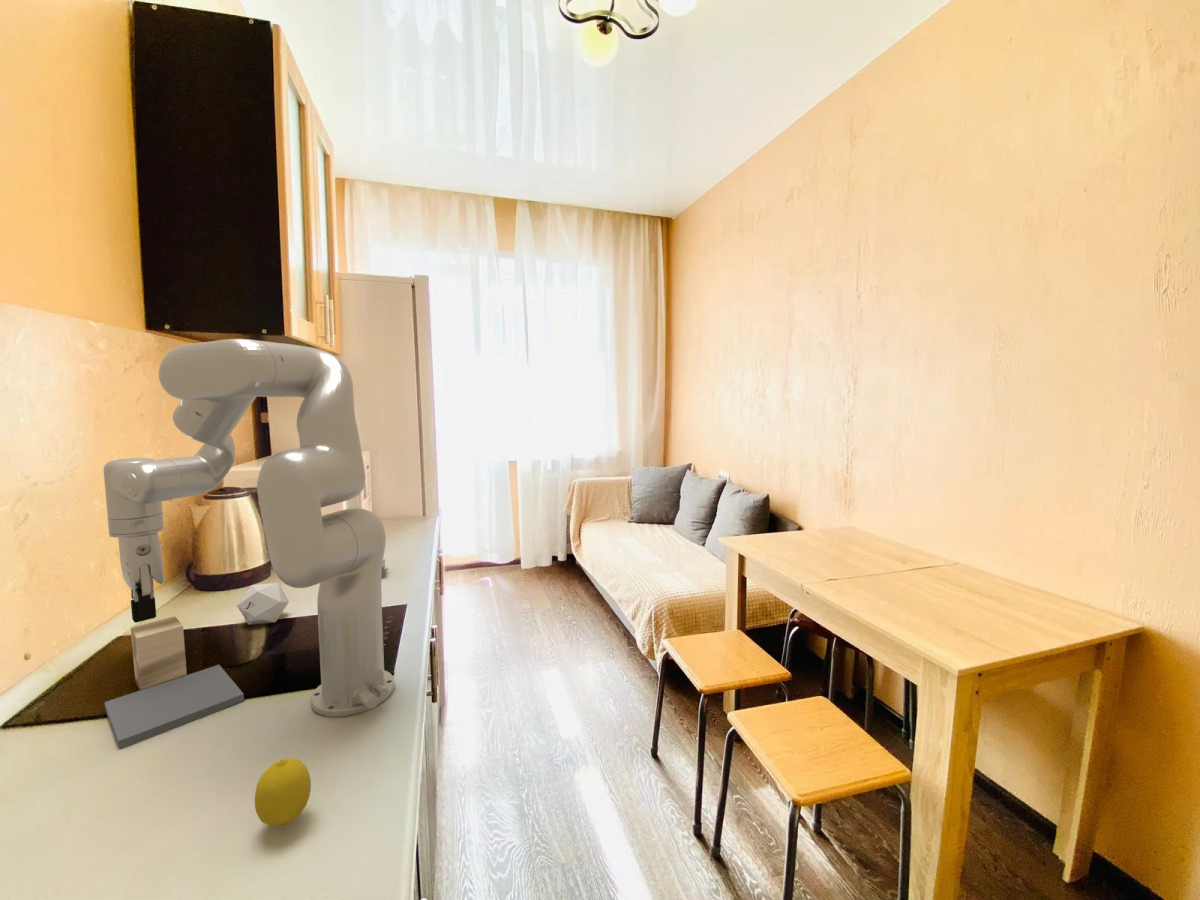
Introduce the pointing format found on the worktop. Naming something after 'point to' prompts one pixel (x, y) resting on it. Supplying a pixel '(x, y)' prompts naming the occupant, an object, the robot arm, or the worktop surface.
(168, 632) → the birch block
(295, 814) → the lemon
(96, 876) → the worktop surface
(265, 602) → the die
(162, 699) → the mat
